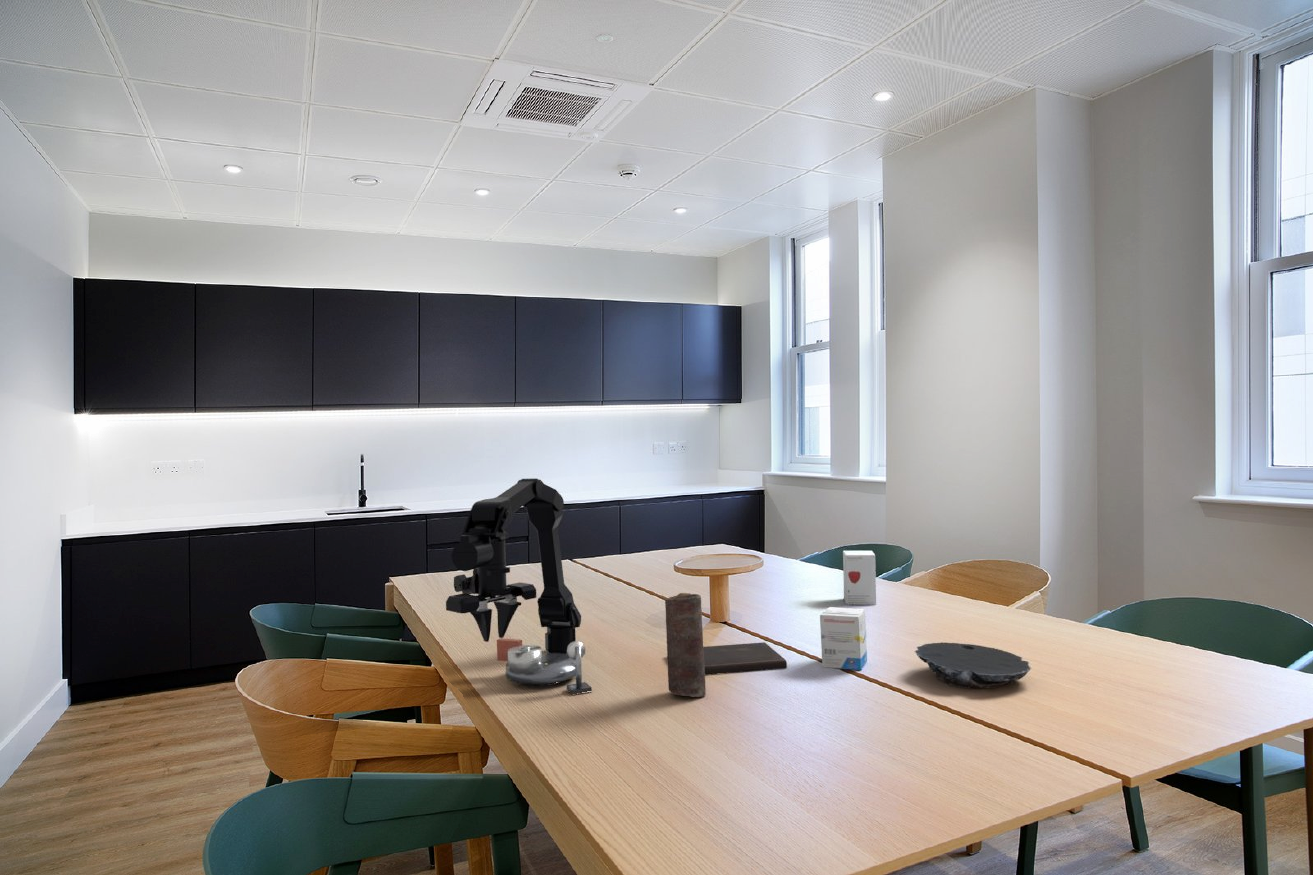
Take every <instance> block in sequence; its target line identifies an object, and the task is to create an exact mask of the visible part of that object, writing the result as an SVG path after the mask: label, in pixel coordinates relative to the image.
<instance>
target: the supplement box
mask: <svg viewBox="0 0 1313 875" xmlns="http://www.w3.org/2000/svg"><path fill="white" fill-rule="evenodd" d="M842 560H843V561H842V563H843V565H842V566H843V567H842V569H843V573H842V574H843V599H844V602H845V604H846V605H852V604H853V605H855V606H858V605H861V606H862V605H863V606H871V605H873V606H875V605H877V581H876V578H877V575H876V572H877V571H876V567H877V566H876V554H875V553H874V551H873V550H843V551H842Z"/></svg>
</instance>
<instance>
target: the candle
mask: <svg viewBox="0 0 1313 875" xmlns="http://www.w3.org/2000/svg"><path fill="white" fill-rule="evenodd" d="M664 606H665V626H666V628H665V630H666V653H667V654H666V657H667V661H666V662H667V679H668V680H667V683H668V691H669V692H670V693H671V694H672V695H675V696H676V695H677V696H683V697H692V698H703V697H706V693H707V692H706V691H707V689H706V675H705V667H704V651H703V647H704V634H703V633H704V632H703V618H702V617H703V613H702V612H703V610H702V609H703V608H702V597H701V595H700V594H698V593H689V592H688V593H687V592H680V593H678V594H677V595H674V596H673V595H672V596H669V597H666V598H665V599H664Z"/></svg>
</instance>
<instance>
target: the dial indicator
mask: <svg viewBox="0 0 1313 875" xmlns="http://www.w3.org/2000/svg"><path fill="white" fill-rule="evenodd" d="M567 654H568V656H569V657H570V658H572V659H574V660H575V664H574V663H571V665H572V666H573V667H575V668H576V676H575V683H572V684H566V691H567V690H568V691H567V692H569V691H570V692H571V693H572V694H577V693H582V692H587V691H592V690H593V689H592V686H590V684H588V683H587V682H586V681H584V682H583V680H582V679H583V676H582V658H583V657H584V656H585V655H586V646H585V645H584V644H583V643H582V642H580V641H579V640H576V641H573V642H571V643H570V644H569V645H568V647H567ZM570 692H569V693H570ZM592 692H593V691H592ZM571 693H570V694H571ZM572 694H571V695H572Z"/></svg>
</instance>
